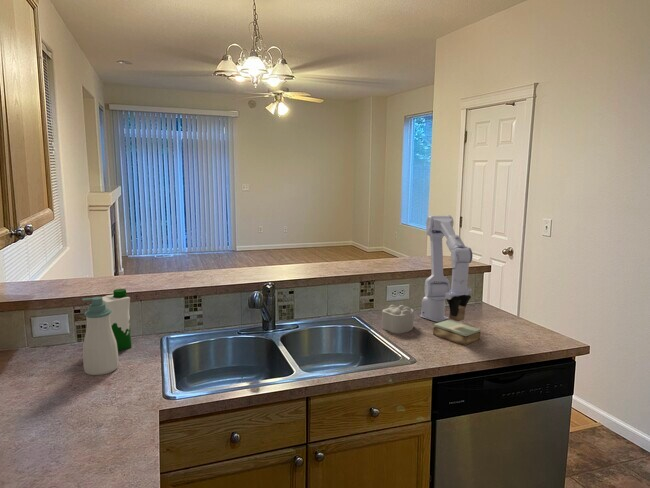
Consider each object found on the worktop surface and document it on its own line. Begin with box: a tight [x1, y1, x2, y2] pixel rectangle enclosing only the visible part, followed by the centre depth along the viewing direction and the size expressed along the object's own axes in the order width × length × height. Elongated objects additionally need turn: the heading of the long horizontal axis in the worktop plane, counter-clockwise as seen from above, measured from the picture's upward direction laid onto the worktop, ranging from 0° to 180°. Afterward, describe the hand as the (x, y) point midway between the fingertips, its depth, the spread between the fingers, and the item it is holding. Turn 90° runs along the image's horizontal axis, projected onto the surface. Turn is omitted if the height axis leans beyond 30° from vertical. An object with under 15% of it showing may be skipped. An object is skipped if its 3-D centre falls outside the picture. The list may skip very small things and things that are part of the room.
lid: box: [433, 319, 481, 336], centre depth 175 cm, size 14×10×1 cm
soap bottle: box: [81, 296, 120, 376], centre depth 140 cm, size 10×10×23 cm
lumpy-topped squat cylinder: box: [381, 304, 415, 334], centre depth 184 cm, size 10×13×9 cm
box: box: [432, 326, 481, 346], centre depth 175 cm, size 14×10×3 cm
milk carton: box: [101, 288, 132, 352], centre depth 157 cm, size 9×9×20 cm
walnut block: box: [448, 305, 466, 322], centre depth 174 cm, size 4×4×5 cm
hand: (457, 314), depth 174 cm, fingers closed on walnut block, 4 cm apart
